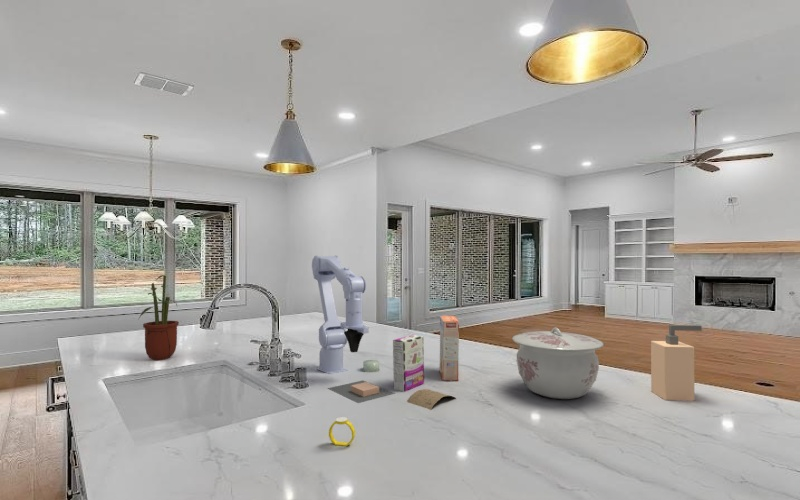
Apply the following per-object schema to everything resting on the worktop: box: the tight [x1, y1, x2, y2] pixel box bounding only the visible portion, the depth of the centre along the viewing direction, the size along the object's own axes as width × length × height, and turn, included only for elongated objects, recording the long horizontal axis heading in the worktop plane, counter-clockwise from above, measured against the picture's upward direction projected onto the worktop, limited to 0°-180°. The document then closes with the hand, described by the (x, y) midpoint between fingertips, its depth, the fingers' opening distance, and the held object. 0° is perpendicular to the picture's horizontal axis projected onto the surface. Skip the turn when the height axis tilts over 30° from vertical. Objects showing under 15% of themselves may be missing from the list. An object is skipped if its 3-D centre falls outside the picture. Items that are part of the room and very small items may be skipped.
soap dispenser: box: [650, 324, 703, 402], centre depth 135 cm, size 13×9×22 cm
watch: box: [328, 416, 356, 447], centre depth 101 cm, size 6×3×6 cm, turn 79°
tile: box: [351, 381, 380, 397], centre depth 137 cm, size 2×6×7 cm
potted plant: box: [138, 274, 180, 361], centre depth 183 cm, size 17×16×35 cm
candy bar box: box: [392, 334, 425, 393], centre depth 144 cm, size 11×5×16 cm, turn 143°
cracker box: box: [439, 315, 460, 382], centre depth 158 cm, size 14×6×21 cm, turn 179°
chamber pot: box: [511, 327, 605, 400], centre depth 139 cm, size 28×28×21 cm
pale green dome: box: [362, 359, 380, 373], centre depth 164 cm, size 6×6×4 cm
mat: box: [326, 379, 396, 404], centre depth 139 cm, size 18×14×1 cm
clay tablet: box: [406, 388, 456, 411], centre depth 131 cm, size 14×10×3 cm
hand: (354, 351), depth 149 cm, fingers closed
